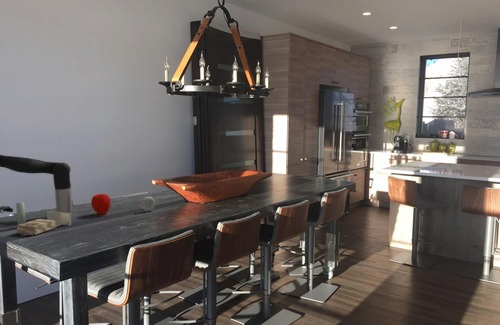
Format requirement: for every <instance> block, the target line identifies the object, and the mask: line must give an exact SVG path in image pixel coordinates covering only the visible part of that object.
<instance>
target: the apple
mask: <svg viewBox="0 0 500 325" xmlns="http://www.w3.org/2000/svg"><path fill="white" fill-rule="evenodd" d="M111 200H112V199H111V197H110V196H109V195H108V194H106V193H104V194H103V193H99V194H95V195H93V196H92V198H91V203H90V204H91V208H92V209H93V211H95V212H96V214H97V215H99V216H100V215H101V216H102V215H106V214H107V213H108V212H109V210H110V208H111Z"/></svg>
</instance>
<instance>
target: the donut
mask: <svg viewBox="0 0 500 325" xmlns="http://www.w3.org/2000/svg"><path fill="white" fill-rule="evenodd" d="M148 202H149V205H147V203H148ZM155 206H156V201H155V198H153V197H152V196H149V195H148V196H145V197H143V198H142V199H141V202H140V208H141V210H142V211H144V212H151V211H152V210H154V208H155Z"/></svg>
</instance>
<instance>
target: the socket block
mask: <svg viewBox="0 0 500 325" xmlns="http://www.w3.org/2000/svg"><path fill="white" fill-rule="evenodd" d="M56 228H57V227H56V224H55V221H54V220H47V219H42V218H37V219H33V220H29V221H27V222H26V223H23V224H20V225H18V224H17V225H16V229H17V231H16V233H17V234H19V233H25V234H34V235H33V236H35V235H38V234H41V233H44V232H47V231H50V230H53V229H56Z"/></svg>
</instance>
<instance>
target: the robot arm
mask: <svg viewBox="0 0 500 325" xmlns="http://www.w3.org/2000/svg"><path fill="white" fill-rule="evenodd" d="M0 168H5V169H8V170H10V171H13V172H17V173H24V174H48V175H52V176H53V185H54V193H55V194H54V197H55V212H66V213H71V216H72V215H74V201H73V200H74V199H73V198H72V184H71V174H70V173H71V167H70V165H69V164H68V163H67V162H59V161H57V162H53V161H44V160H40V159H37V158H36V159H35V158H29V157H23V156H12V155H11V156H10V155H5V154H4V155H2V154H0ZM13 212H14V208H13V207H11V206H6V205H5V206H4V205H1V206H0V214H3V213H13Z"/></svg>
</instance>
